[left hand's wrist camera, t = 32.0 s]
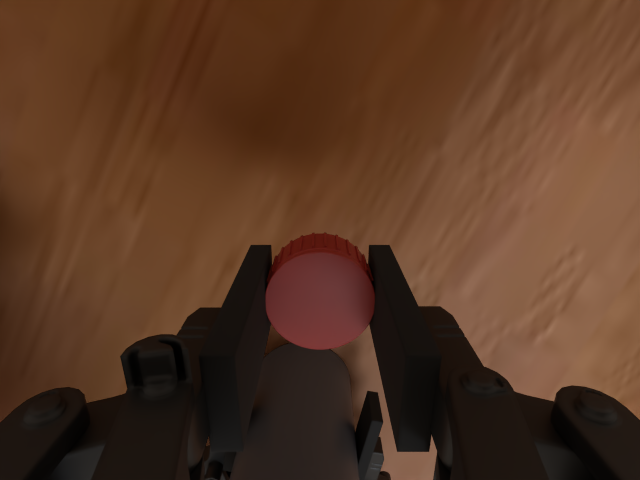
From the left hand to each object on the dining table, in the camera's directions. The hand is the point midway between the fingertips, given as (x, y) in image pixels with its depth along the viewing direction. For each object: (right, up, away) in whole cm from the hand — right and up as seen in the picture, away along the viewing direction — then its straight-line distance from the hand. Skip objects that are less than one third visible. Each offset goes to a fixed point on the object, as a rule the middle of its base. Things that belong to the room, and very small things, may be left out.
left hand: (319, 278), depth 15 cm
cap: (0, -1, -2) cm, 2 cm away
